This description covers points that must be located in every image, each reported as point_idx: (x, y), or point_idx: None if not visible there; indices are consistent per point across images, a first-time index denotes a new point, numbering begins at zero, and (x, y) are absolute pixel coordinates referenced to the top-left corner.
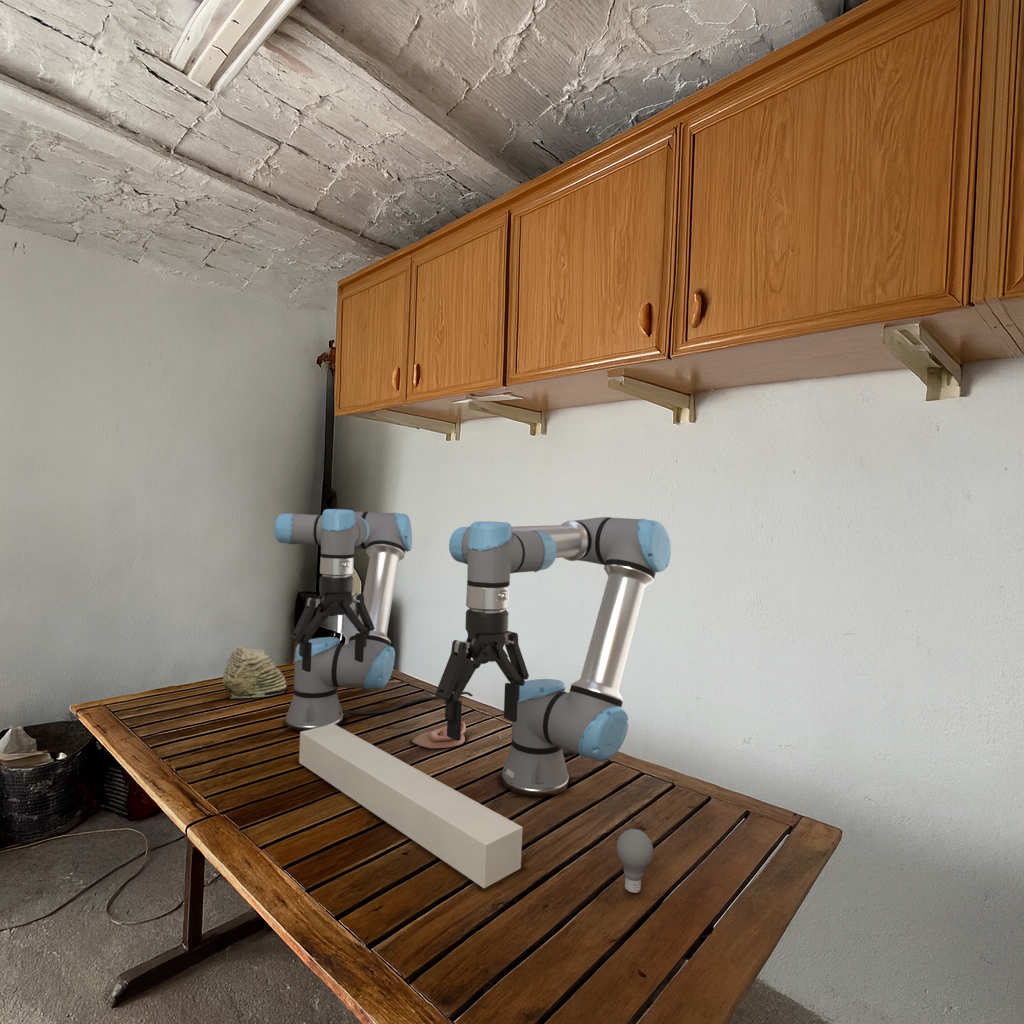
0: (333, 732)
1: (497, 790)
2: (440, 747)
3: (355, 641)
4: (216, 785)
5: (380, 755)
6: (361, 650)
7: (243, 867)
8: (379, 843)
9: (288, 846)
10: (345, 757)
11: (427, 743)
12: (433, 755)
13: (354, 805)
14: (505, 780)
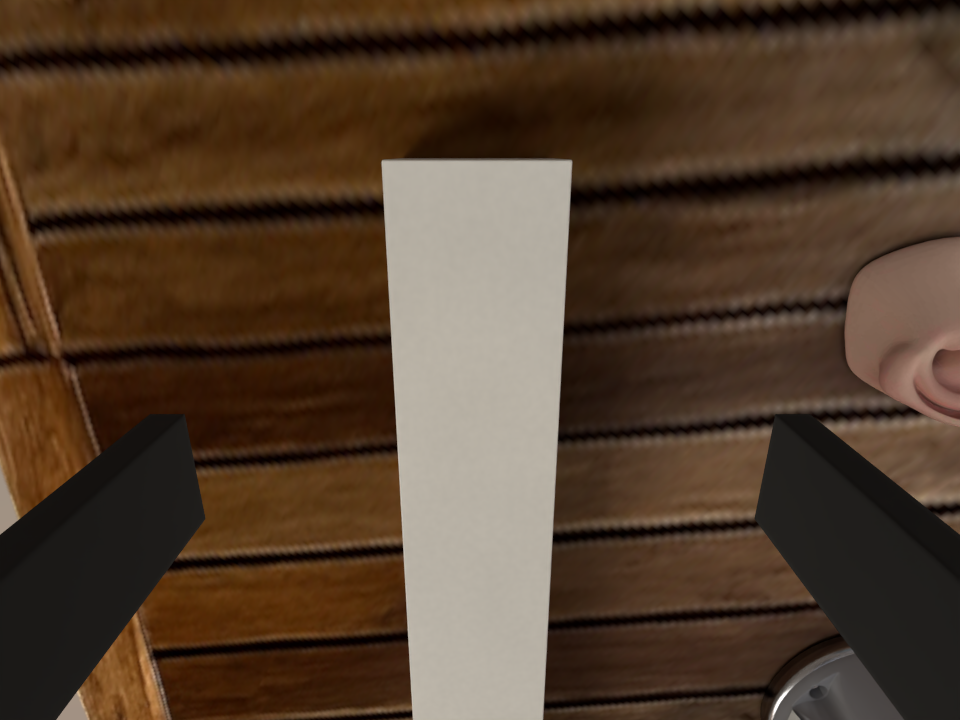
0: (506, 272)
1: (742, 676)
2: (879, 388)
3: (927, 565)
4: (75, 153)
5: (519, 572)
6: (832, 612)
7: None
8: (362, 691)
9: (186, 598)
10: (410, 520)
11: (864, 353)
12: (811, 415)
13: None
14: (780, 695)
